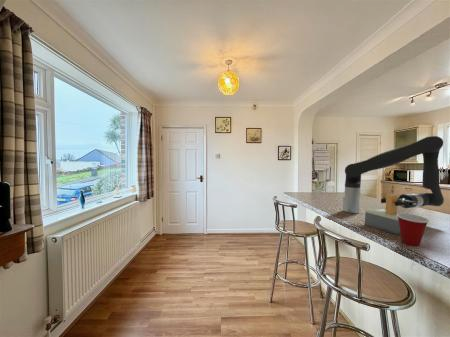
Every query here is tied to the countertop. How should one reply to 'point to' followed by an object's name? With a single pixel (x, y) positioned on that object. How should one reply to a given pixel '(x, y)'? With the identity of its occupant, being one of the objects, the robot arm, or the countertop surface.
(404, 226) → the plastic cup
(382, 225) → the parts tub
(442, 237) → the countertop surface
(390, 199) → the lid
